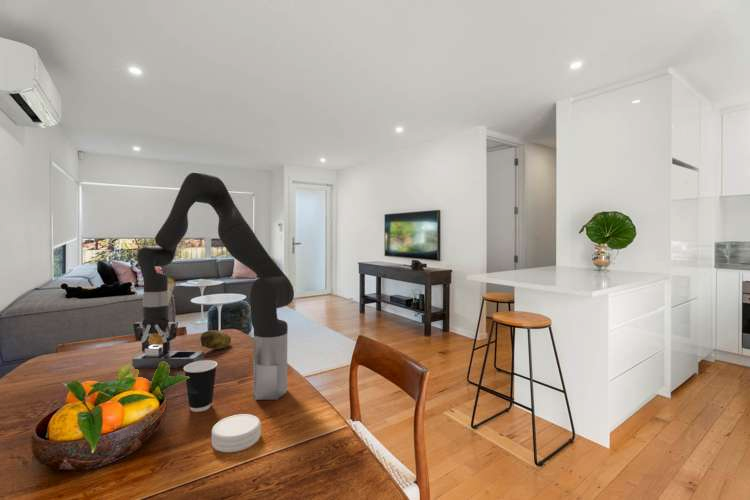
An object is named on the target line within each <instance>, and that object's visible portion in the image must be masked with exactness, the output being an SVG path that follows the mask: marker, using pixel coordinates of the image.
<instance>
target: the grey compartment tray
mask: <svg viewBox="0 0 750 500" xmlns="http://www.w3.org/2000/svg"><path fill="white" fill-rule="evenodd" d="M203 359H204V360H205V351H204V350H168V352H166V355H165V356H163V357H161V358H145V353H143V352H142V353H140V354H139V355H137V356H135V357H133V358H132V359H131V361H132V362H131V365H132V366H133V367H134V368H133V369H158V368H157V367H158V365H159V363H160V362H161V361H165V362H167V363H168V365H170V368H169V369H183V368H184V367H185V366H186V365H187V364H190V363H193V362H197V361H202V360H203ZM204 360H203V361H204ZM137 367H138V368H137Z"/></svg>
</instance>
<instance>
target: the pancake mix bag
mask: <svg viewBox="0 0 750 500" xmlns="http://www.w3.org/2000/svg"><path fill="white" fill-rule="evenodd" d="M167 279H168V300H169V307H170V305H171V300H172V296H173V293H174V290H175V288H176V282H177V281H176V280H175V279H173V278H171V277H168V276H167ZM167 330H168V332H169V333H170V328H169V325H168V326H167ZM163 333H164V332H163ZM148 341H149V346H151V345H163V342H164V341H163V339H162V337H160V335H159V334H155V333H153V334H151V336H150V338H149V340H148Z"/></svg>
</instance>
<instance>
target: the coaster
mask: <svg viewBox="0 0 750 500" xmlns="http://www.w3.org/2000/svg"><path fill="white" fill-rule="evenodd" d="M261 425H262V424H261V420H260V418H259V417H257V416H255V415H254V414H250V413H247V414H246V413H242V414H241V413H240V414H234V415H231V416H227V417H225V418H222V419H219V421H218V422H217V423H215V424H214V425H213V427H212V429H211V446H212V448H213V449H214V450H216V451H218V452H221V453H235V452H240V451H243V450H246V449H248V448H251V447H252V446H253V445H255V444H256V443H257V442H258V441H259V440H260V438H261V435H262V434H261V430H262V427H261Z"/></svg>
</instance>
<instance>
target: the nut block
mask: <svg viewBox="0 0 750 500" xmlns="http://www.w3.org/2000/svg"><path fill="white" fill-rule="evenodd" d="M165 355H166V353H163V345H149V347H147V348H145V358H161V357H163V356H165Z"/></svg>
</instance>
